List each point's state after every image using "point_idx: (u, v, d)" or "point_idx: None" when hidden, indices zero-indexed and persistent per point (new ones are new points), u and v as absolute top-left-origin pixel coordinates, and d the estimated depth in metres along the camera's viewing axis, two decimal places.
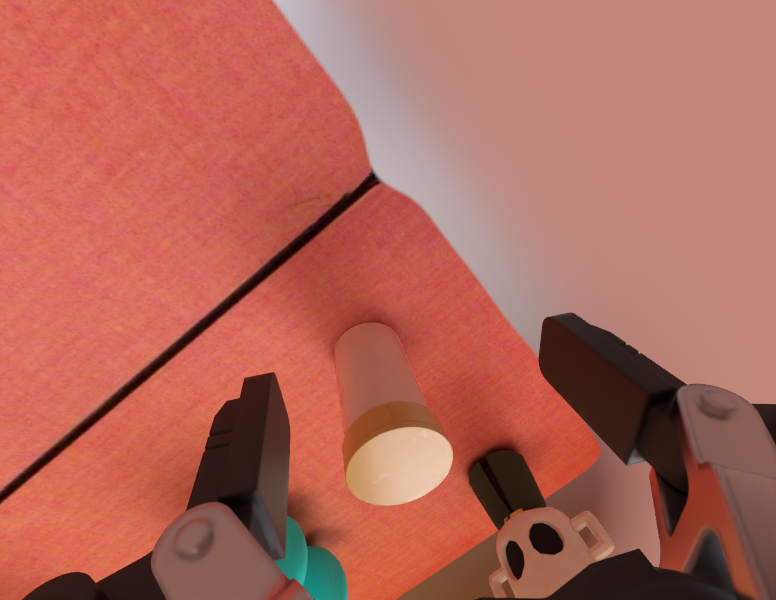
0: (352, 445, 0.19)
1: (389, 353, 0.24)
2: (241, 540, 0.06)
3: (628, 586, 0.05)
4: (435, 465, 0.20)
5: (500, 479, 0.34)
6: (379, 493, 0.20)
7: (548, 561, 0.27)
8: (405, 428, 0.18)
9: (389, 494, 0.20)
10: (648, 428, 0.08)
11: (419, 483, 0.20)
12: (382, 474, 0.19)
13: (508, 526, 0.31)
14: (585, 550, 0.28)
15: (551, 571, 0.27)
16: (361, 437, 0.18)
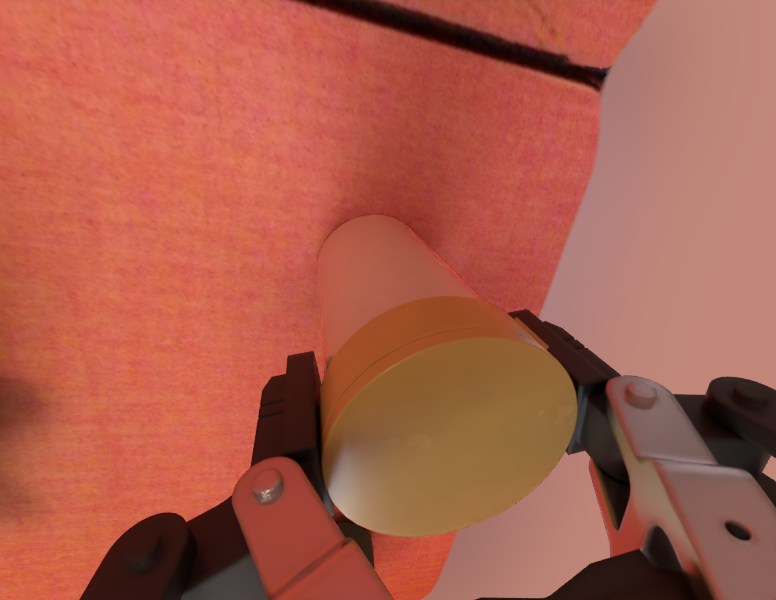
0: (438, 326, 0.07)
1: None
2: (311, 486, 0.06)
3: (628, 586, 0.05)
4: (494, 491, 0.09)
5: None
6: (366, 474, 0.08)
7: None
8: (564, 375, 0.08)
9: (375, 491, 0.08)
10: (584, 418, 0.08)
11: (436, 507, 0.09)
12: (424, 436, 0.08)
13: None
14: None
15: None
16: (475, 324, 0.07)
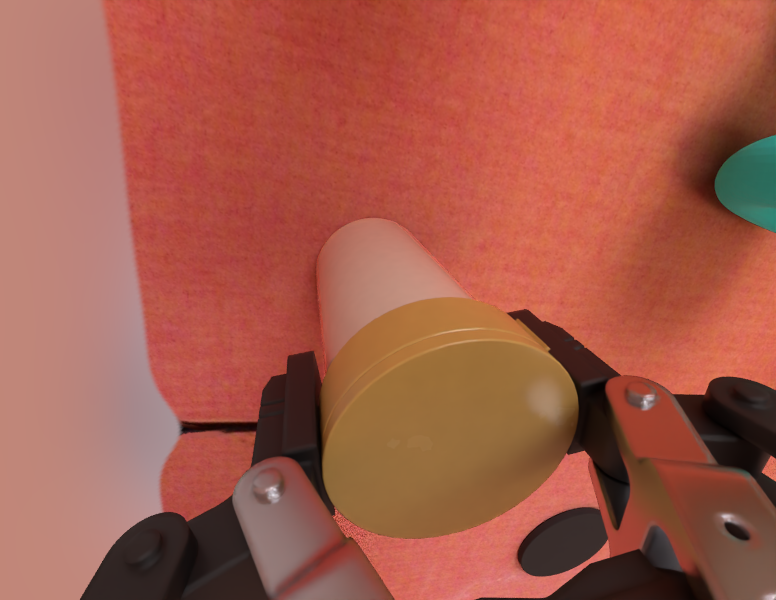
0: (440, 328, 0.07)
1: None
2: (311, 486, 0.06)
3: (628, 586, 0.05)
4: (494, 493, 0.09)
5: None
6: (366, 476, 0.08)
7: None
8: (565, 377, 0.08)
9: (375, 493, 0.08)
10: (583, 418, 0.08)
11: (436, 509, 0.09)
12: (424, 437, 0.08)
13: None
14: None
15: None
16: (476, 326, 0.07)
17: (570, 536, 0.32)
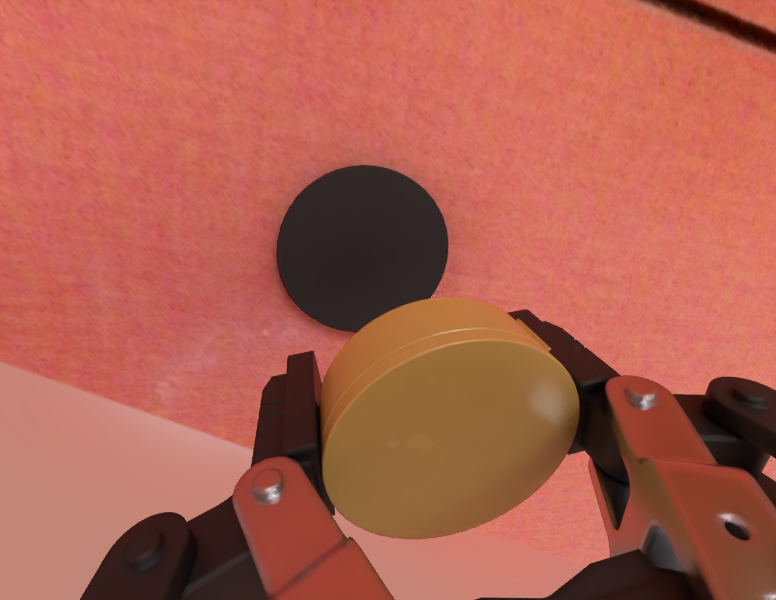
0: (440, 328, 0.07)
1: None
2: (311, 486, 0.06)
3: (628, 586, 0.05)
4: (495, 493, 0.09)
5: None
6: (366, 476, 0.08)
7: None
8: (566, 378, 0.08)
9: (375, 493, 0.08)
10: (583, 418, 0.08)
11: (436, 509, 0.09)
12: (425, 437, 0.07)
13: None
14: None
15: None
16: (477, 326, 0.07)
17: (363, 227, 0.18)
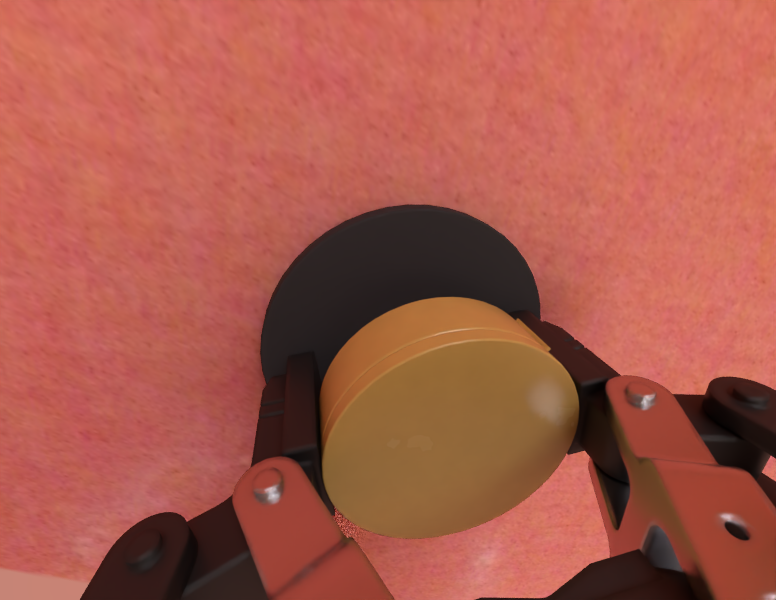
0: (440, 328, 0.07)
1: None
2: (311, 486, 0.06)
3: (628, 586, 0.05)
4: (494, 493, 0.09)
5: None
6: (366, 476, 0.08)
7: None
8: (566, 377, 0.08)
9: (375, 492, 0.08)
10: (583, 418, 0.08)
11: (436, 509, 0.09)
12: (424, 437, 0.07)
13: None
14: None
15: None
16: (477, 326, 0.07)
17: None
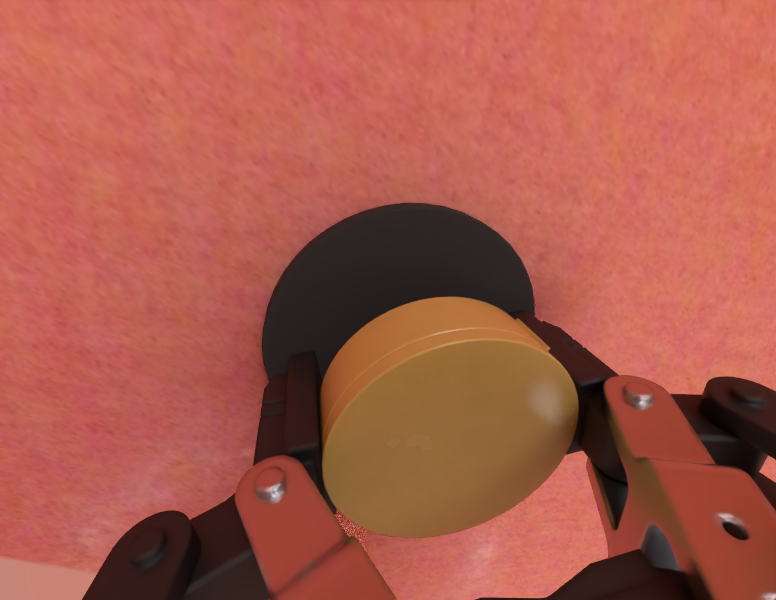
0: (440, 327, 0.07)
1: None
2: (314, 484, 0.06)
3: (628, 586, 0.05)
4: (494, 493, 0.09)
5: None
6: (366, 475, 0.08)
7: None
8: (565, 377, 0.08)
9: (375, 492, 0.08)
10: (581, 418, 0.08)
11: (436, 508, 0.09)
12: (425, 436, 0.08)
13: None
14: None
15: None
16: (476, 325, 0.07)
17: (405, 302, 0.11)
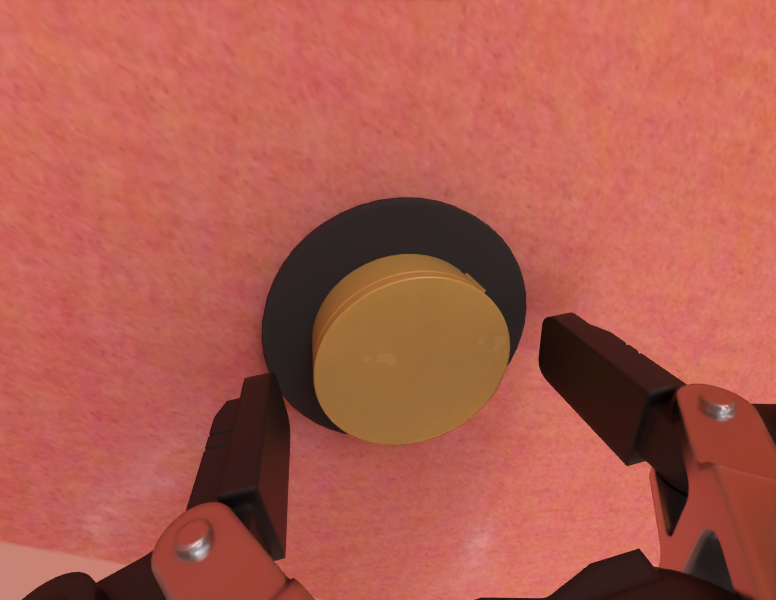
0: (400, 271, 0.10)
1: None
2: (241, 540, 0.06)
3: (628, 586, 0.05)
4: (448, 408, 0.11)
5: None
6: (347, 385, 0.10)
7: None
8: (495, 310, 0.10)
9: (354, 400, 0.10)
10: (648, 428, 0.08)
11: (402, 418, 0.11)
12: (390, 355, 0.10)
13: None
14: None
15: None
16: (427, 270, 0.10)
17: None
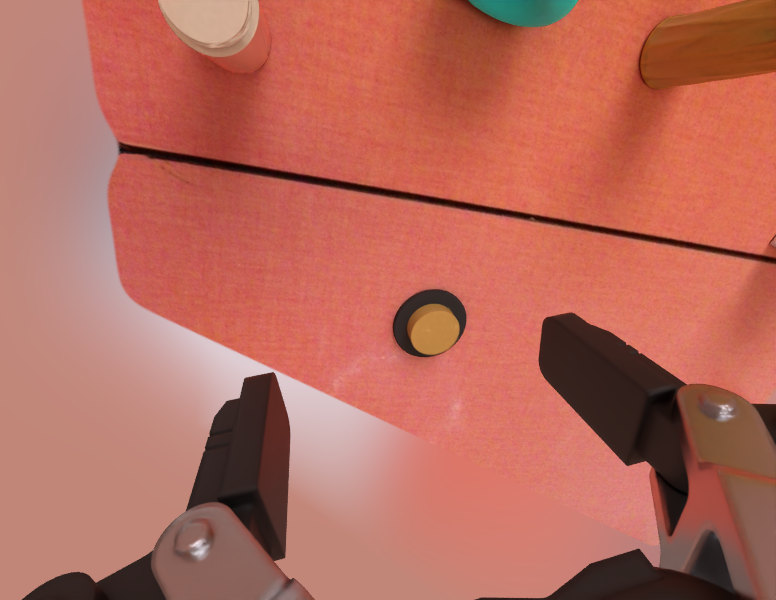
0: (432, 309, 0.41)
1: None
2: (241, 540, 0.06)
3: (628, 586, 0.05)
4: (443, 344, 0.43)
5: None
6: (418, 337, 0.42)
7: None
8: (455, 318, 0.41)
9: (420, 341, 0.42)
10: (648, 428, 0.08)
11: (431, 346, 0.42)
12: (429, 329, 0.41)
13: None
14: None
15: None
16: (438, 309, 0.41)
17: None
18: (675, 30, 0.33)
